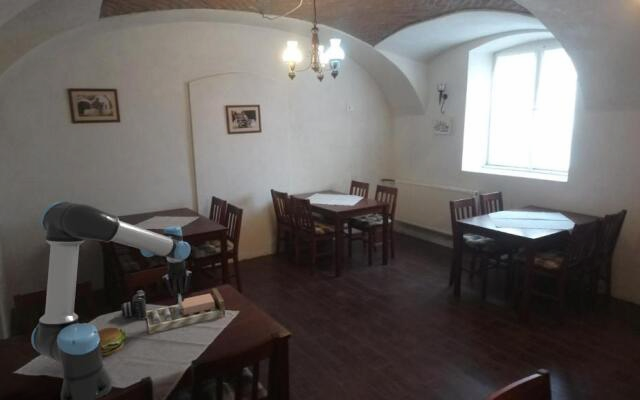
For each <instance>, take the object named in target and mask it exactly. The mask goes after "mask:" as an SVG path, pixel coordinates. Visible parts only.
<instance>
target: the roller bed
mask: <svg viewBox="0 0 640 400" xmlns="http://www.w3.org/2000/svg"><path fill="white" fill-rule="evenodd" d="M211 291H212V298H213V300H214V302H215V308H213V309H209V310H205V311H200V312H196V313H191V314H187V315H184V313H183V311H182V309H180V310H179V306H178V304H175V305H169V306H164V307H160V308H156V309H150V310H146V314H147V315H146V318H147V324H148V325H147V326H148V331H149V333H148V334H149V335H150V334H155V333H159V332H162V331H166V330H172V329H176V328H179V327H184V326H189V325H192V324H196V323H200V322H201V323H202V322H205V321H209V320H214V319H217V318H222V317H226V309H225V308H226V307H225V300H224V298H223V297H222V295H221V293H220V291H219V290H218V289H217V288H215V287H214V288H212V289H211Z"/></svg>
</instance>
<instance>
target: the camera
mask: <svg viewBox="0 0 640 400" xmlns="http://www.w3.org/2000/svg"><path fill="white" fill-rule="evenodd" d="M146 296H147V295H146V293H145V291H144V290H143V289H141V290H138V291H136V294H134V296H132V300H131V301H128V302H125V303H122V304H121V315H122V317H124V318H128V317H133V316H138V319H139V320H143V319H142V318H144V319H146V318H147V313H146V311H147V304H146V301H147V300H146ZM145 317H146V318H145Z"/></svg>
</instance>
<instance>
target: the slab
mask: <svg viewBox="0 0 640 400" xmlns="http://www.w3.org/2000/svg"><path fill="white" fill-rule="evenodd" d="M212 297H213V295H211V293H207V294H206V293H205V294H200V295H196V296H192V297H191V296H190V297H187V298H184V301H182V308H183V309H182V311H183V313H184V315H187V314H191V313H196V312H200V311H205V310H209V309H213V308H215V302H214V300H213V298H212Z"/></svg>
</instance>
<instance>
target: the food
mask: <svg viewBox="0 0 640 400" xmlns="http://www.w3.org/2000/svg"><path fill="white" fill-rule="evenodd" d="M97 331H98V334H99V338H100V348H101V355H102V356H108V355H111V354H115V353H116V352H118V351H120V350H121V349H122V348H123V346H124V344H125V341H126V340H127V336H126V332H125V331H123V330H122V328H120V329H119V328H116V327H112V326H111V327H105V328H104V327H103V328H101V329H100V330H99V329H98V330H97Z"/></svg>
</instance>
